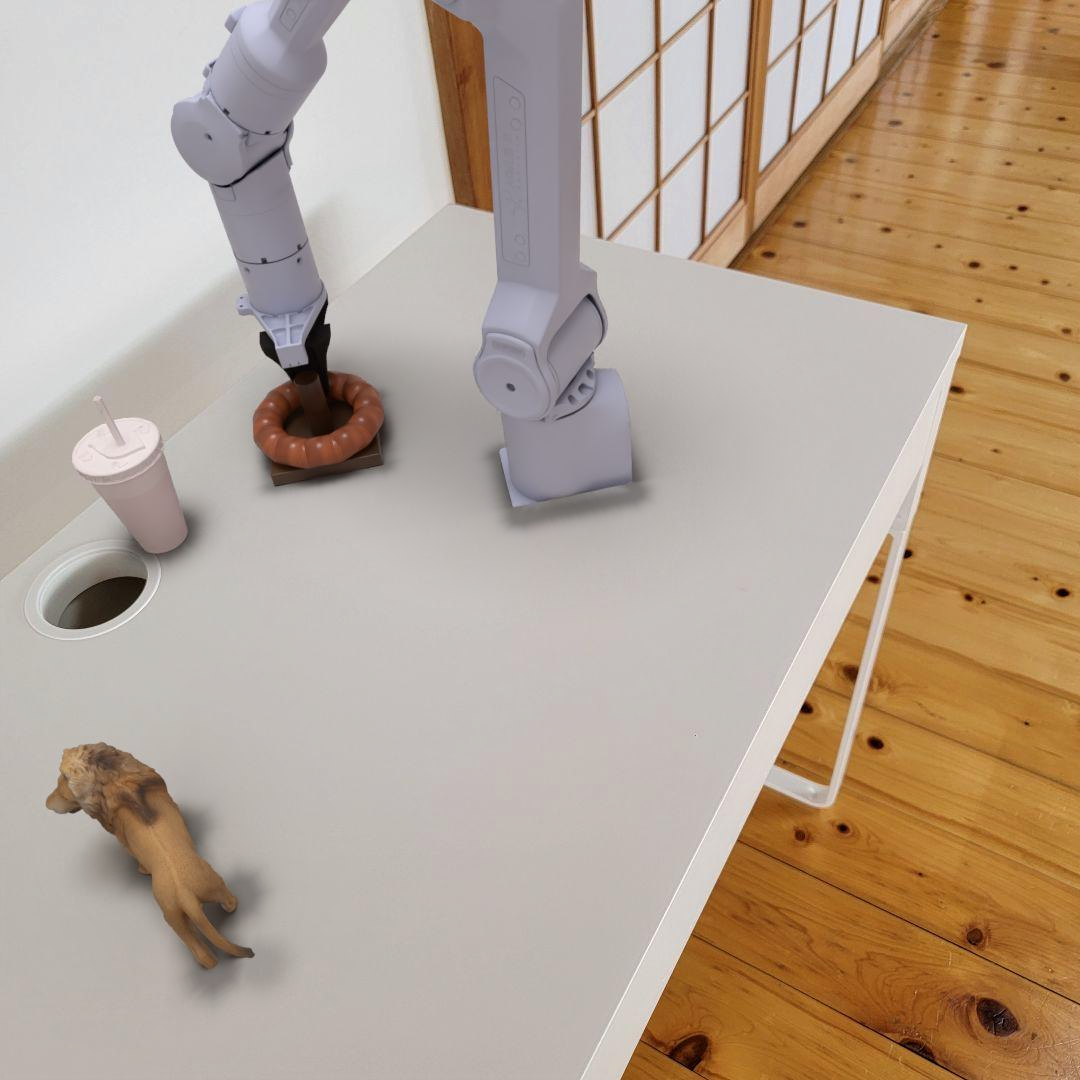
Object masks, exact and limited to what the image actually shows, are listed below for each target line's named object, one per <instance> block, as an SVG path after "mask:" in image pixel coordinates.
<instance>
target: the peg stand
mask: <svg viewBox="0 0 1080 1080" xmlns="http://www.w3.org/2000/svg"><path fill="white" fill-rule="evenodd" d="M294 384H295V387H296V389H297V392H298V395H299V398H300V401H301V404H302V406H301V407H300V408H298V409H296V410H294V411H293V412H291V413H290V414H289V415H288V417H287V418H286V420H285V421H284V422H283V430H284V431H285V432H286V433H287V434H288V435H289V436H295V437H301V438H306V439H308V438H313V437H318V436H323V435H328V434H331V433H332V432H334V431H336V430H337V429H339V428H341V427H342V426H344V425H346V424H347V423H348V422H349V420H350V419H351V417H352V416H353V414H354V409H353V407H352V406H351V405H350V404H348V403H347V402H345V401H339V400H333V399H326V398H325V395H324V392H323V388H322V385H321V382H320V379H319V376H318V374H317V373H316V372H314V371H304V372H301V373H299V374H298V375H296V376H295V378H294ZM380 465H384V461H383V453H382V447H381V438H380V429H379V430H378V432H377V433H376V435H375V436H374V438H373V440H372V441H371V443H370V444H369V445H368V446H367V447H366V448H364V449H362V450H361V451H359V452H357V453H356V454H354V455H353V456H351V457H349V458H348V459H346V460H344V461H343V462H340V463H336V464H331V465H326V466H321V467H316V468H311V469H305V468H299V467H294V466H289V465H283V464H279V463H276V462H274V461H273V460H272V459H271V458H270V478H271V480H272V483H273V486H282V485H285V484H291V483H296V482H301V481H305V480H311V479H316V478H320V477H326V476H331V475H336V474H342V473H346V472H350V471H356V470H361V469H367V468H371V467H376V466H380Z"/></svg>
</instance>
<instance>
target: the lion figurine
mask: <svg viewBox="0 0 1080 1080" xmlns="http://www.w3.org/2000/svg"><path fill="white" fill-rule="evenodd" d="M62 752H63V754H62V756H61V762H60V767H59V769H58V771H59V772H60V774H59V776H58V778H57V786H56V787H55V789H54V790H53V791H52V792H51V793H50V794H49V795H48V796H46V799H45V807H46V808H47V810H50V811H53V812H54V813H55V814H59V815H66V814H70V815H71V814H72V815H74V814H77V813H78V812H80V811H82V810H83V812H84V813H85V814H86V815H88V816H89V817H90V819H92V820H97V822H98V823H99V824H100V826H101V827H102V828H103V829H104V830H105V831H106V832H107V833H109V834H110V835H112V836H114V837H115V838H116V840H117V841H118V843H120V844H121V845H122V846H123V847H124V849H125V850H126V852H127V853H128V854H129V855H130V856H131V857H133V858H135V859H136V860H137V862H138V872H139V873H140V874H143V875H151V884H152V885H151V886H152V894H153V897H154V899H155V901H156V903H157V905H158V906H159V908H160V910H161V912H162V914H163V919H164V921H165V922H166V924H167V925H168V926H169V927H170V928H171V929H172V930H173V931H174V932H175V934H176V935H177V936H178V937H179V938H180V939H181V940H182V941H183V942H184V944H186V946H187V947H188V948H189V950H190V951H191V953H192V954H193V956H194V959H195V960H196V961H197V963H199V964H200V965H202V966H203V967H205V969H207V970H211V969H213V968H214V967H216V966H217V965H218V963H219V958H218V956H217V955H216V954H215V953H214V952H213V951H212V949H211V947H209V945H207V943H205V942H204V941H203V939H202V938H201V937H200V935H198V932H197V931H196V927H197V928H198V931H200V932H201V933H202V935H203V936H205V938H207V939H208V940H209V941H210V942H211V943H212V944H213V945H214V946H215V947H216V948H218V949H220V950H221V951H223V952H226V953H227V954H230V955H233V956H235V957H238V958H242V959H245V958H246V959H253V958H254V957H255V956H256V953H255V952H254V951H253V948H252V947H246V946H241V945H239V944H236V943H233V942H231V941H230V940H228V938H227V939H226V938H225V937H224V936H223V935H222V934H221V933H219V931H218V930H217V929H216V928H215V927H214V926H213V925H212V923H211V922H210V921H209V919H208V917H207V916H206V914H205V912H204V911H203V904H212V903H220V905H221V908H222V909H223V910H225V911H226V912H228V913H232V912H233V911H235V909H236V908H237V907H238V903H239V900H238V897H237V896H236V895H235V894H233V893H232V892H231V891H230V890H229V888H228V886H227V885H226V883H225V881H224V879H223V878H222V876H221V874H219V873H218V872H217V871H215V869H214V868H213V867H212V865H211V864H210V863H209V862H208V861H207V860H205V859H203V858H201V856H200V855H198V853H197V852H196V849H195V844H194V840H193V838H192V836H191V834H190V832H189V831H188V828H187V823H186V821H185V818H184V815H183V813H182V812H181V810H180V807H179V805H178V803H177V802H175V801H174V799H173V797H172V796H171V794H170V793H169V791H168V785H167V782H166V781H165V779H164V777H162V776H161V774H160V773H158V772H157V771H156V769H155V768H153V767H150V766H149V765H148V764H146V763H144V762H142V761H140V760H139V759H137V758H136V757H134V756H133V754H132V753H131V752H127V751H123V750H121V749H117V748H116V747H115V746H113V745H111V744H107V743H106V742H104V741H98V742H96V743H86V744H79V745H78V746H75V747H71V748H64V749H63V750H62ZM195 926H196V927H195Z"/></svg>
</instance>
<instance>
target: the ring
mask: <svg viewBox="0 0 1080 1080" xmlns="http://www.w3.org/2000/svg"><path fill="white" fill-rule="evenodd" d="M327 371H328V380H329V396H327V397H325V398H326V399H333V400H339V401H345V402H347V403H348V404H350V405H351V406H352V407H353V409H354V414H353V416H352V417H351V419H350V420H349V422H348V423H347V424H346V425H344V426H342V427H341V428H339V429H337V430H336V431H334V432H332V433H331V434H328V435H323V436H318V437H313V438H308V439H306V438H301V437H295V436H289V435H288V434H287V433H286V432H285V431H284V430H283V422H284V421H285V420H286V418H287V417H288V415H289V414H290V413H291V412H293V411H294V410H296V409H298V408H300V407H301V406H302V404H301V401H300V398H299V395H298V392H297V389H296V387H295V385H294V384H293V382H292V381H291V379H288V380H287V381H285V382H283V383H281V384H280V385H278V386H276V387H274V388H273V389H271V390H270V391H269V392H268V393H267V394H266V395H265V397H264V398H263V400H262V401H261V402H260V403H259V405H258V406H257V408H256V409H255V410H254V411H253V415H252V438H253V442H254V444H255V445H256V447H257V448H258V449H260V451H262V452H263V454H265V455H266V456H267V457H268V458H269V459H270V460H271V459H272V460H273V461H274V462H276V463H279V464H283V465H289V466H294V467H299V468H305V469H311V468H316V467H321V466H326V465H331V464H336V463H340V462H343V461H344V460H346V459H348V458H349V457H351V456H353V455H354V454H356V453H357V452H359V451H361V450H362V449H364V448H366V447H367V446H368V445H369V444H370V443H371V441H372V440H373V438H374V436H375V435H376V433H377V432H378V430H379V431H380V428H381V427H382V425H383V423H384V420H385V414H384V407H383V403H382V397H381V394H380V392H379V390H377V388H375V387H374V386H373V385H371V384H370V383H369V382H367V381H366V380H365V379H364V378H362V377H361V376H359V375H358V374H355V373H348V372H341V371H336V370H328V369H327Z"/></svg>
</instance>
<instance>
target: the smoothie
mask: <svg viewBox="0 0 1080 1080" xmlns="http://www.w3.org/2000/svg"><path fill="white" fill-rule="evenodd" d="M92 400H93V403H94V404H95V407H96V408H97V410H98V412H99V414H100V416H101V418H102V419H103V421H104V423H101V424H99V425H98V426H95V427H94V428H93V429H91V430H89V431H88V432H87V433H86V434H84V435H83V436H82V437H81V438H80V439H79V440H78V442H77V443H76V444H75V445H74V448H73V450H72V453H71V462H72V465H73V467H74V468H75V471H76V474H77V475H78V477H79V478H80V479H81V480H82V481H84V482H86V483H88V484H90V485H91V486H92V487H93V489H94V490H95V491H96V492H97V493H98V494H99V496H100V497H101V498H102V500H103V501H104V502H105V503H106V505H108V507H109V508H110V510H111V511H112V512H113V514H115V516H116V517H117V518H118V519H119V520H120V522H121V523H122V525H123V526H124V527H125V528H126V529H127V531H128V532H129V533H130V534H131V535H132V537H133V538H134V539H135V540H136V542H137V543H138V544H139V546H140V547H141V548H142V549H143V550H144V551H145V552H147V553H148V554H149V553H150V554H154V555H155V554H157V555H159V554H165V553H169V552H170V551H172V550H175V549H176V548H178V547H179V546H180V545H182V544H183V542H184V541H185V540H186V538H187V536H188V533H189V529H188V526H187V525H188V524H187V523H186V522H187V521H186V519H185V515H184V513H183V510H182V505H181V503H180V500H179V497H178V494H177V490H176V488H175V484H174V481H173V478H172V475H171V471H170V468H169V465H168V461H167V458H166V456H165V453H164V450H165V440H164V437H163V435H162V433H161V432H160V430H159V428H158V426H157V425H156V424H155V423H154V422H152V421H151V420H148V419H145V418H141V417H122V418H121V417H120V418H117V419H114V418H113V417H112V414H111V413H110V410H109V409H108V407H107V405H106V404H105V401H104V400H103V397H102V396H101V395H96V396H94V397H93V399H92Z"/></svg>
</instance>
